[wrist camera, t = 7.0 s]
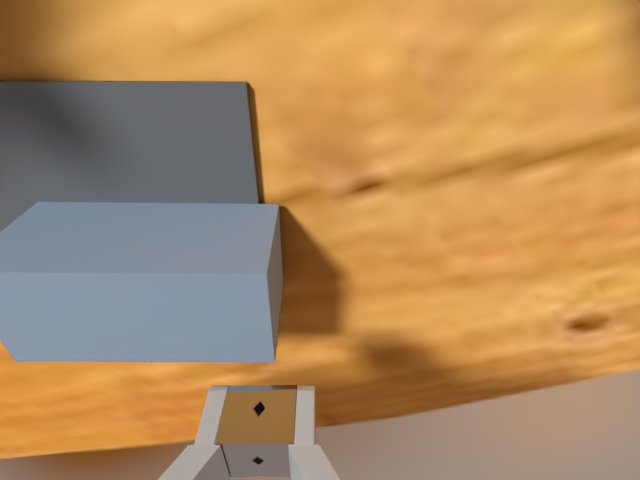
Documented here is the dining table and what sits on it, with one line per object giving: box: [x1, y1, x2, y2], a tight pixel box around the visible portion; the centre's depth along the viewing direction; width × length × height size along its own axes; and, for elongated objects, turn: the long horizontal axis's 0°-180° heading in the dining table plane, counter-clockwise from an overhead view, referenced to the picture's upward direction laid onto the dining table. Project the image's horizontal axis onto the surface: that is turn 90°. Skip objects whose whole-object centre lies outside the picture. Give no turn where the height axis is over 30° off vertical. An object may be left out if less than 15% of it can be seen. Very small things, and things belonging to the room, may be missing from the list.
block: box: [0, 202, 284, 362], centre depth 15 cm, size 4×4×10 cm
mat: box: [0, 81, 260, 232], centre depth 17 cm, size 12×14×1 cm
